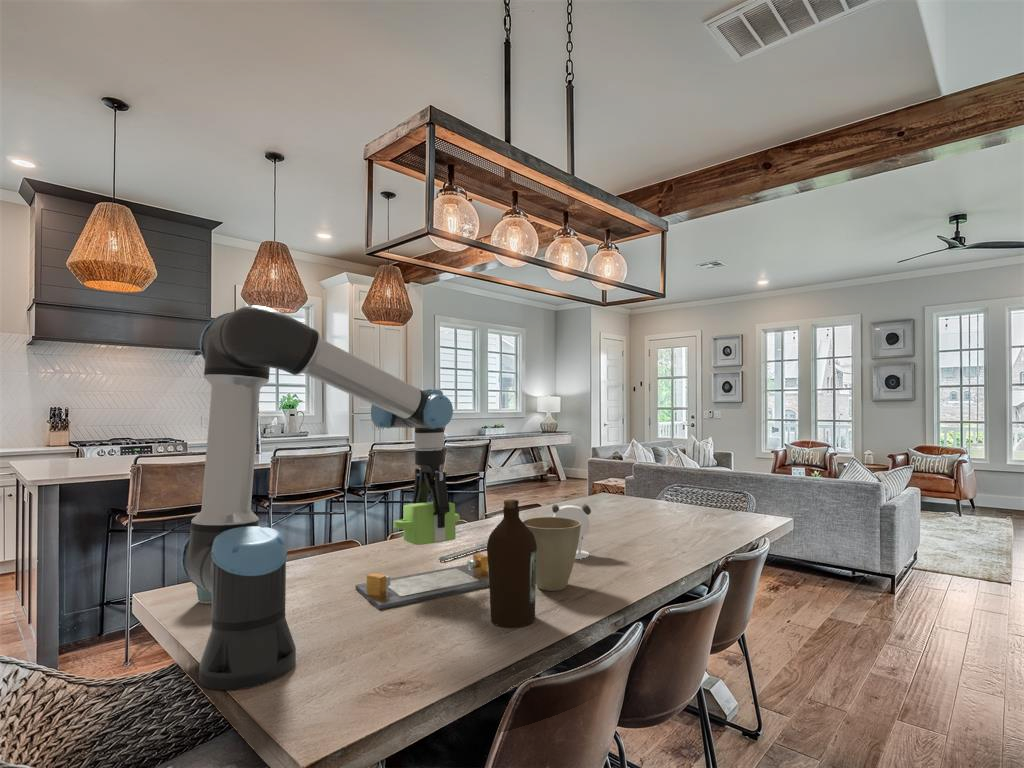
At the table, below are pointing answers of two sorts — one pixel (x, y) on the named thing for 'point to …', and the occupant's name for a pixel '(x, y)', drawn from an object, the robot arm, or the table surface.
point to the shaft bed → (425, 584)
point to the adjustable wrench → (464, 551)
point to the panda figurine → (580, 516)
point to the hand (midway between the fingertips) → (430, 536)
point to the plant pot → (554, 550)
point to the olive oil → (512, 570)
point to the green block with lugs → (425, 523)
